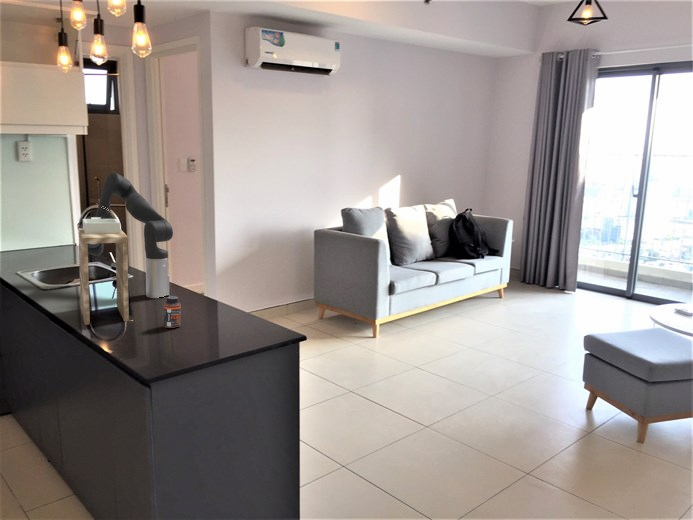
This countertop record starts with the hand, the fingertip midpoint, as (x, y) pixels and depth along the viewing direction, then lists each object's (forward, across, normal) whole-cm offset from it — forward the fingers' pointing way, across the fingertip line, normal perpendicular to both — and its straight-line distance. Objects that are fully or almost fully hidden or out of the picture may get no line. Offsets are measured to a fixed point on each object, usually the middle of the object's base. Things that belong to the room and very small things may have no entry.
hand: (96, 218), depth 238 cm
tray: (+8, 0, +8) cm, 11 cm away
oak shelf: (+4, 0, +42) cm, 42 cm away
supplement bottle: (+24, +21, +54) cm, 62 cm away
